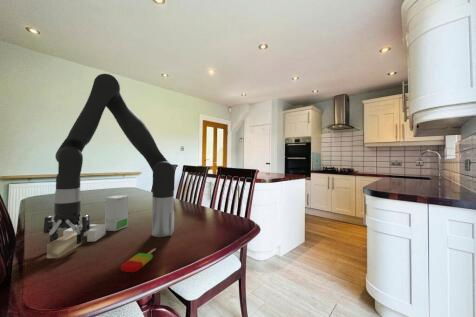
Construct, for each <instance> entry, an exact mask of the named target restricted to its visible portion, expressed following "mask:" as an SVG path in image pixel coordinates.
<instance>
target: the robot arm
mask: <svg viewBox="0 0 476 317" xmlns="http://www.w3.org/2000/svg"><path fill="white" fill-rule="evenodd" d="M105 108H107V109H108V110H109V113H111V114H112V116H113V118H114V120H115V122H116V123H117V124H118V125H119V128H120V129H121V130H122V132H123V134H124V136H126V138H127V139H128V141H129V142H130V144H131V145H132V146H133V147H134V148H135V150H136V151H137V152H139V153H140V155H142V156H143V158H144V160H146V162H147V164H148V165H149V167H150V169H151V171H152V198H151V199H152V205H151V208H152V209H151V236H152V237H155V238H162V237H163V238H164V237H168V236H173V233H174V232H175V210H174V204H175V203H174V202H175V201H174V199H175V198H174V197H175V195H174V194H175V178H176V177H175V176H176V170H175V166H174V165H173V163H172V164H171V163H170V162H169V161H168V160H167V158H166V157H165V156H164V155H163V154H162V152H161V150H160V149H159V147H158V145H157V143H156V141H155V139H154V137H153V135H152V134H151V132H150V130H149V129H148V128H147V126H146V125H145V122H144V121H142V119H141V118H140V117H139V116H138V115H137V114H135V112H134V111H133V110H132V109H130V108H129V106H128V104H127V103H126V101H125V99H124V98H123V96H122V94H121V85H120V82H119V80H118V79H117V77H115V76H114V75H112V74H109V73H101V74H98V75H97V76H96V77H95V78H94V80H93V85H92V86H91V91H90V94H89V95H88V98H87V100H86V103H85V104H84V106H83V108H82V110H81V111H80V113H79V115H78V116H77V118H76V120H75V122H74V123H73V125H72V127H71V129H70V130H69V133H68V135H67V136H66V138H65V139H64V140H63V142H62V143H61V145H59V147H58V149H57V151H56V153H55V160H56V162H57V163H58V164H57V165H58V168H57V172H58V173H57V174H56V178H55V192H54V201H53V203H54V204H53V205H54V206H53V208H54V211H53V213H54V215H52V214H51V215H48V216H45V217H44V222H43V231H42V232H43V234H48V235H49V243H50V242H53V241H55V240H57V239H59V233H58V231H59V230H60V229H69V228H72V229H73V230H75V231H76V233H77V244H80V243H82V244H83V242H84V241H85V240H84V239H85V236H84V233H85V232H86V231H88V230H90V225H91V223H90V215H89V214H86V215H81V214H80V213H81V207H82V206H81V205H82V204H81V203H82V201H81V200H82V199H81V198H82V190H81V173H82V168H83V161H84V160H83V159H84V158H83V157H84V155H83V151H84V149H85V148H86V146H87V145H88V144H89V143H90V142H91V140H92V139H93V137H94V135H95V133H96V131H97V129H98V128H99V124H100V122H101V119H102V116H103V114H104V111H105ZM54 222H55V224H54ZM75 225H77V226H75ZM80 245H81V244H80Z"/></svg>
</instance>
